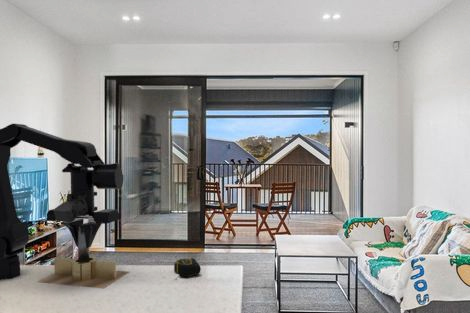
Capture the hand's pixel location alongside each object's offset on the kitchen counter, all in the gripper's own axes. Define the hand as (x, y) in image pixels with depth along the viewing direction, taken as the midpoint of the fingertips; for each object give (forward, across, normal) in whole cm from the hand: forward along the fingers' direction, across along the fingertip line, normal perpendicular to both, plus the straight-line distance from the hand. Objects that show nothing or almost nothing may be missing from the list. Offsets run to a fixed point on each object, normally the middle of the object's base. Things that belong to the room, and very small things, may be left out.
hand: (83, 247), depth 96 cm
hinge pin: (+3, 0, 0) cm, 3 cm away
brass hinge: (+8, 0, 0) cm, 8 cm away
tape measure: (+9, +26, +11) cm, 29 cm away
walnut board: (+9, 0, 0) cm, 9 cm away
